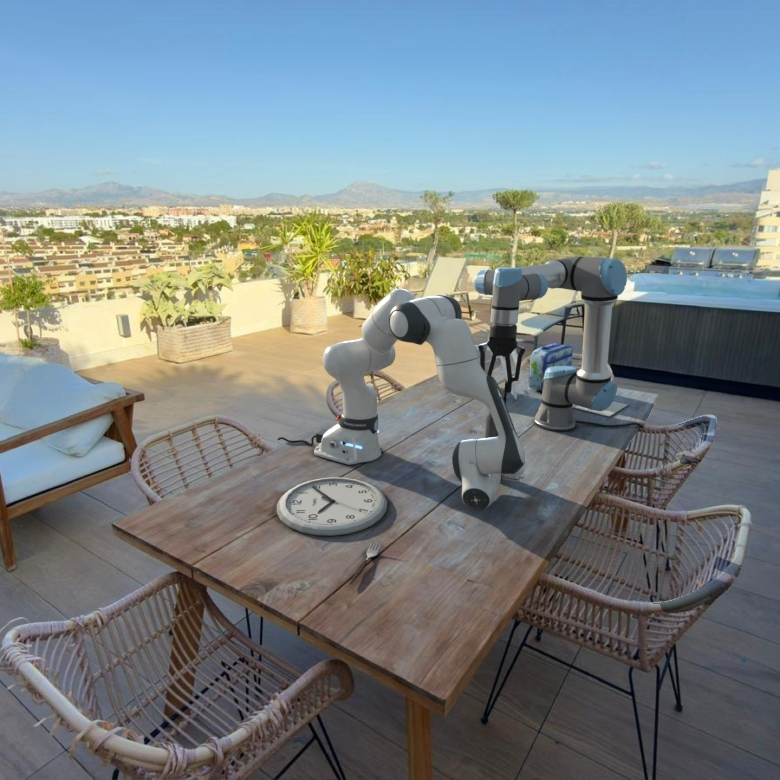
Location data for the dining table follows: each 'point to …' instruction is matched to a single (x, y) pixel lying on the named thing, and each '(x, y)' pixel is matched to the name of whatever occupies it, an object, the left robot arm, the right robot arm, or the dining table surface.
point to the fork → (370, 554)
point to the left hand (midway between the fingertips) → (493, 455)
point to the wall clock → (331, 506)
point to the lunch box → (547, 362)
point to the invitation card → (609, 411)
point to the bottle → (490, 427)
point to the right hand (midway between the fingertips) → (497, 401)
